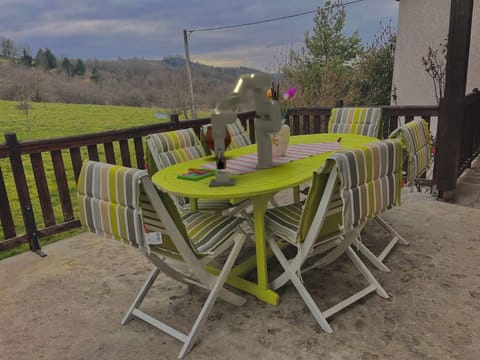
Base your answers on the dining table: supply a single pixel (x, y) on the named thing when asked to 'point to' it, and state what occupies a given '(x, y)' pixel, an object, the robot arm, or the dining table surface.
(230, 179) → the base plate
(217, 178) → the cream brick
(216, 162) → the walnut cube
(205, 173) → the jigsaw puzzle tray
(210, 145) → the goblet
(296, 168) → the dining table surface
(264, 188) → the dining table surface
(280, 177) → the dining table surface
